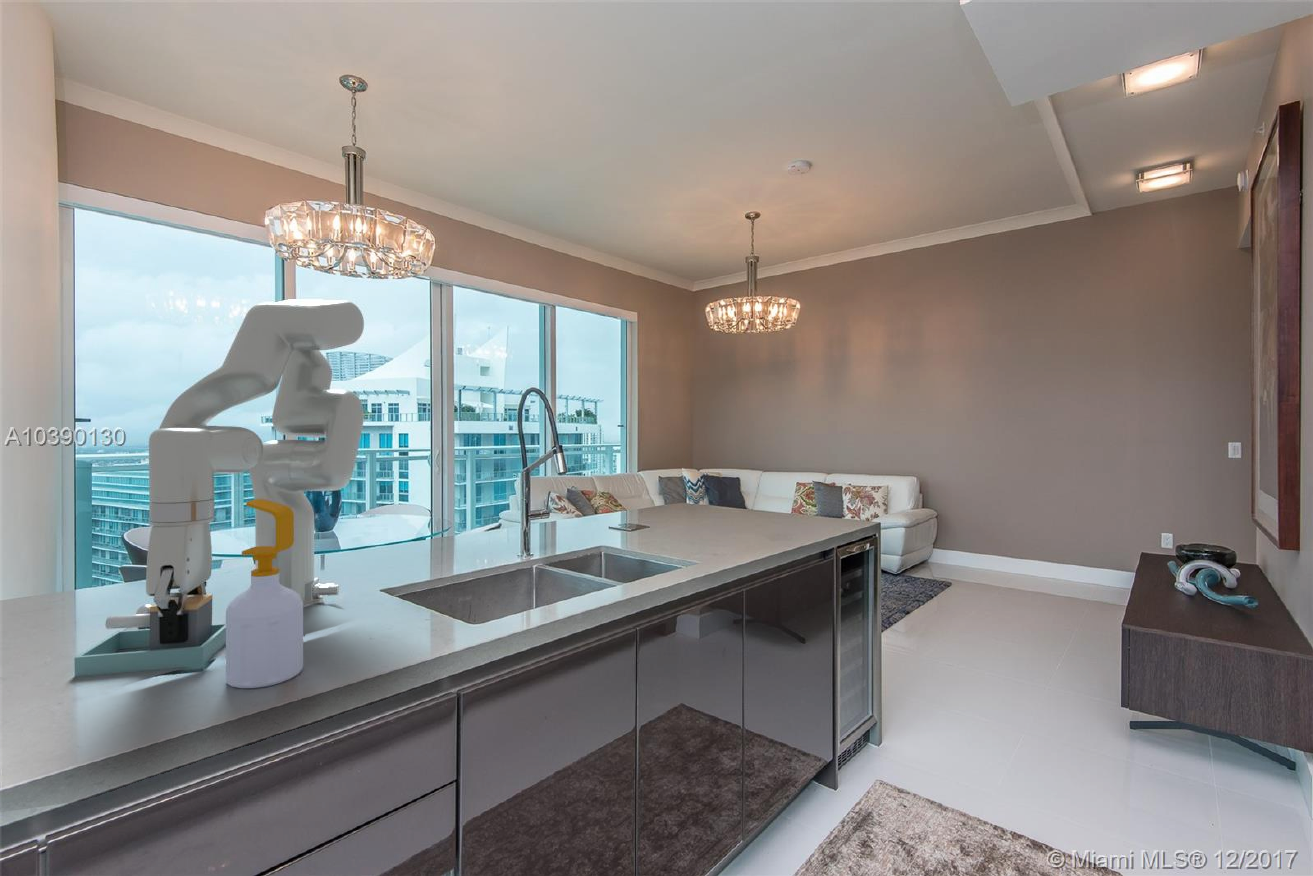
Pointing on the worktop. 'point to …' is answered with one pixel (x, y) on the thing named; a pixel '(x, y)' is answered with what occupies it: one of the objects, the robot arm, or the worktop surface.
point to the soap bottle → (265, 616)
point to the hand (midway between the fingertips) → (183, 633)
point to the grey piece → (142, 610)
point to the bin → (147, 654)
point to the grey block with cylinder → (197, 622)
